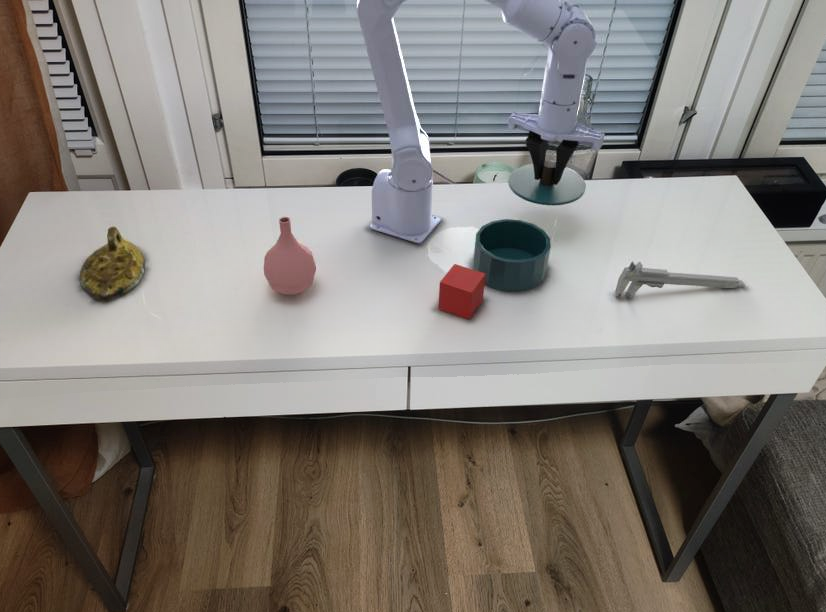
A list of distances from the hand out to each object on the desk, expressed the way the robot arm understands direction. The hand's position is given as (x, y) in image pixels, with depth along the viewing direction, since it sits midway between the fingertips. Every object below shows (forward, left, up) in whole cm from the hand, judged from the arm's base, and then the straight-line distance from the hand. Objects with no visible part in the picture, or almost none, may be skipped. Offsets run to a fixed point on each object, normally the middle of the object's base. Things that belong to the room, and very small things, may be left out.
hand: (547, 179), depth 120 cm
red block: (-3, -25, -9) cm, 27 cm away
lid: (0, 0, -1) cm, 1 cm away
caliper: (+25, -6, -9) cm, 27 cm away
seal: (-53, -44, -9) cm, 69 cm away
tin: (0, -14, -9) cm, 16 cm away
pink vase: (-27, -34, -9) cm, 44 cm away
